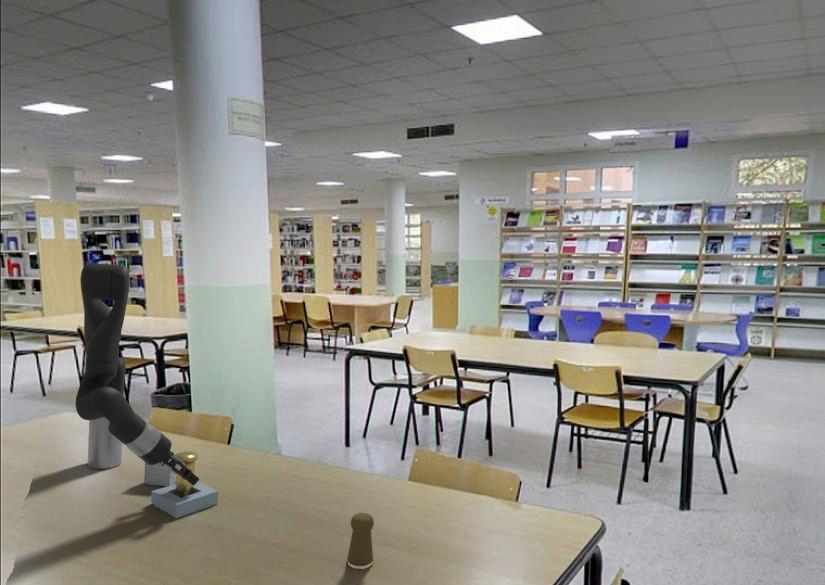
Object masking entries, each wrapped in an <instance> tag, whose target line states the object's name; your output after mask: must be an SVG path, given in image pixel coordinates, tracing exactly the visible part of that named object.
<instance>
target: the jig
mask: <svg viewBox="0 0 825 585" xmlns="http://www.w3.org/2000/svg"><path fill="white" fill-rule="evenodd" d="M175 490H176V483H174V484H173V485H171V486H163V487H162V488H158V489H154V490H152V491H151V497H150V498H151V501H150V504H151V503H152V504H154V505H155V506H157V507H159V508H160V509H159V508H158V509H159V510H161V509H162V510H161V511H162V512H164V511H165V512H164V513H166V512H167V513H166V514H168V515H169V516H172V517H174V519H175V518H176V519H179V518H181V517H185V516H186V515H187V516H188V515H190V514H192V513H196V512H198V511H201V510H204V509H207V508H210V507H213V506H215V505H218V500H219V491H218V490H217V489H214V488H212V487H211V486H208V485H206V484H204V483H202V482H199V481H198V482H197V483H196V484H195V485H194V494H192V495H188V496H185V497H182V498H180V497H179V496H177V495H175ZM152 504H151V505H152ZM154 505H153V506H154ZM155 506H154V507H155ZM157 507H156V508H157Z"/></svg>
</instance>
